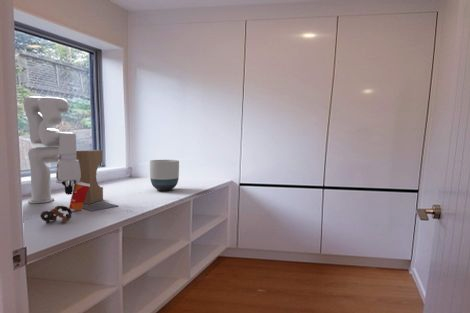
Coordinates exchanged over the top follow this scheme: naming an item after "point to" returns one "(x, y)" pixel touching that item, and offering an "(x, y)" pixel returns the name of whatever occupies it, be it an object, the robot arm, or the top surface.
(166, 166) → the planter
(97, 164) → the decorative block
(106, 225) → the top surface
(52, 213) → the brown looped knot sculpture
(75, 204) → the paper cup
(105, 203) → the mat
